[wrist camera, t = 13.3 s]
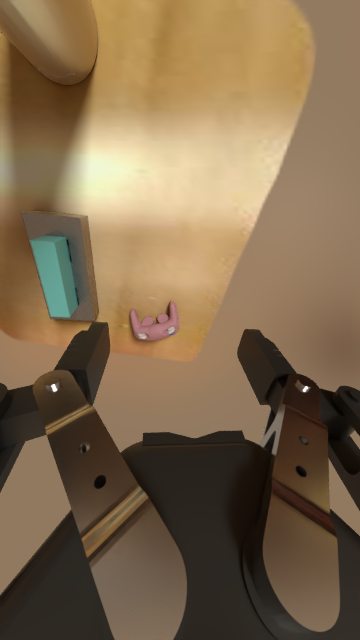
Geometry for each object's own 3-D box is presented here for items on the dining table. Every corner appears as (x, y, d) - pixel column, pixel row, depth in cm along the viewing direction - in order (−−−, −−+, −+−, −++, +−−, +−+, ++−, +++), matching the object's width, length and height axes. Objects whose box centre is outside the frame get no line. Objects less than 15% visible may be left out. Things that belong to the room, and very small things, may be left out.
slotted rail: (34, 210, 31) (21, 211, 28) (87, 215, 32) (80, 217, 29) (58, 310, 41) (50, 318, 38) (99, 312, 42) (94, 320, 39)
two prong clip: (53, 232, 33) (30, 240, 27) (73, 234, 33) (54, 242, 27) (67, 298, 39) (50, 316, 33) (83, 299, 39) (69, 317, 33)
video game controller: (135, 318, 45) (136, 347, 42) (127, 307, 41) (128, 337, 38) (177, 310, 45) (182, 337, 41) (174, 298, 41) (180, 327, 37)
